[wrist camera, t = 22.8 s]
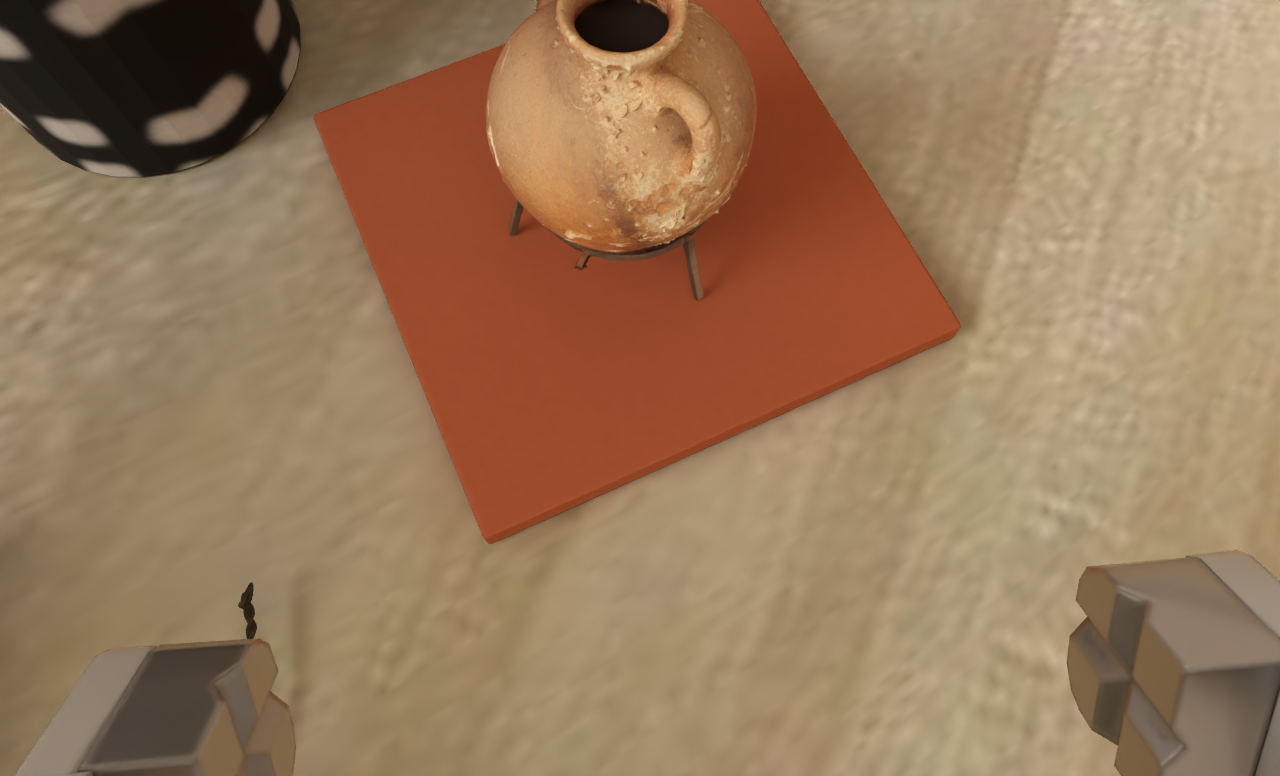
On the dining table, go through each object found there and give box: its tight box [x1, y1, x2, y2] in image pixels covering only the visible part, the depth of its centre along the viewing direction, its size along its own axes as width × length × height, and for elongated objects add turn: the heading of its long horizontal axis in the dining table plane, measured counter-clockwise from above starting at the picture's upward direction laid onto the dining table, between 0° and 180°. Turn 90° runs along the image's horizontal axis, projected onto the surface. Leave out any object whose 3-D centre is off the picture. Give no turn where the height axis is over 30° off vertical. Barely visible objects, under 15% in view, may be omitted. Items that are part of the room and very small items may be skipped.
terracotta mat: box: [314, 0, 961, 544], centre depth 26 cm, size 13×13×1 cm
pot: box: [486, 0, 757, 301], centre depth 22 cm, size 6×8×6 cm
